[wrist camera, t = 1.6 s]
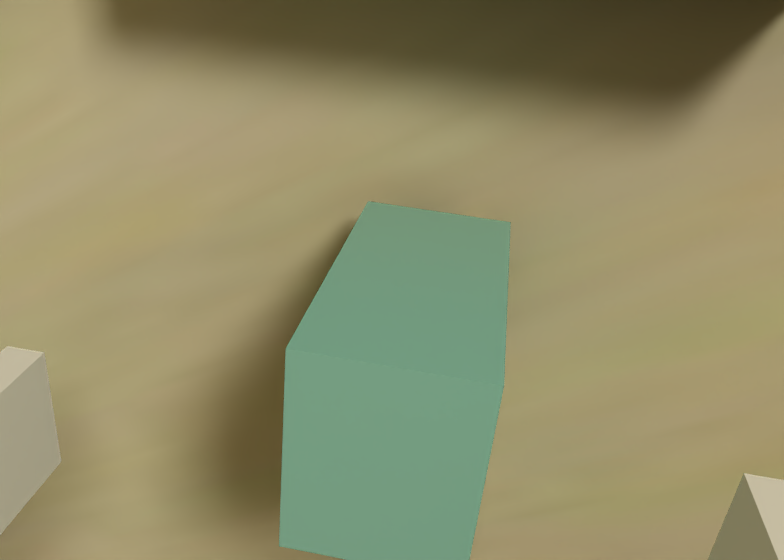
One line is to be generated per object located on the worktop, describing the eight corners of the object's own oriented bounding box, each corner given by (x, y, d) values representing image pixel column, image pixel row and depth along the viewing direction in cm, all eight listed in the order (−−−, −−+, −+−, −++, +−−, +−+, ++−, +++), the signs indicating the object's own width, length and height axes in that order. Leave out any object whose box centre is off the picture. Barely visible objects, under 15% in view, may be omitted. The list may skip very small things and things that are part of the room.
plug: (485, 352, 23) (464, 582, 15) (362, 332, 24) (278, 546, 16) (511, 207, 21) (504, 385, 13) (375, 187, 21) (285, 348, 13)
